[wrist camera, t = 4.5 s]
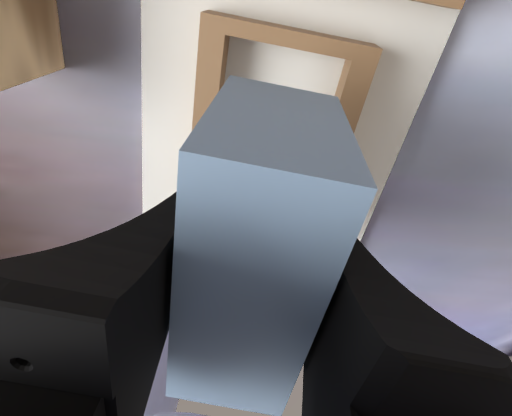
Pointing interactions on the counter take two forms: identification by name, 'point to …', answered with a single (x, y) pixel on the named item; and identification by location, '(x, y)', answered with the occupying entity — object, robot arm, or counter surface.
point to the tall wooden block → (28, 41)
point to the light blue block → (260, 241)
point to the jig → (288, 68)
